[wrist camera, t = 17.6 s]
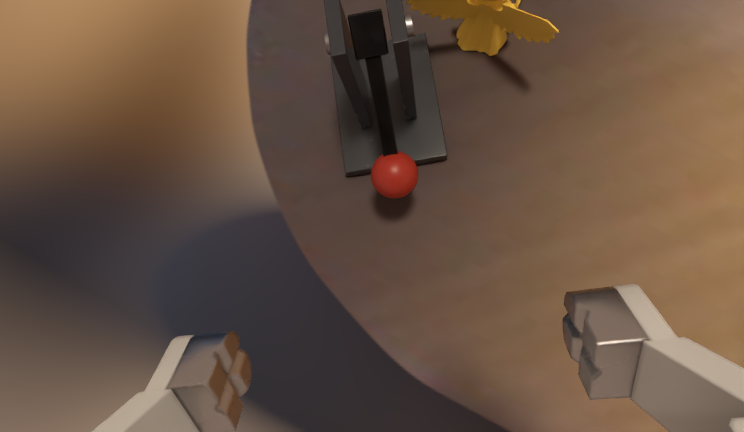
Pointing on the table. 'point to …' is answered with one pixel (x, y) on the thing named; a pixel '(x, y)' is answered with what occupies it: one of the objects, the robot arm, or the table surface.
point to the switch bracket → (404, 86)
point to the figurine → (487, 22)
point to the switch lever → (382, 107)
